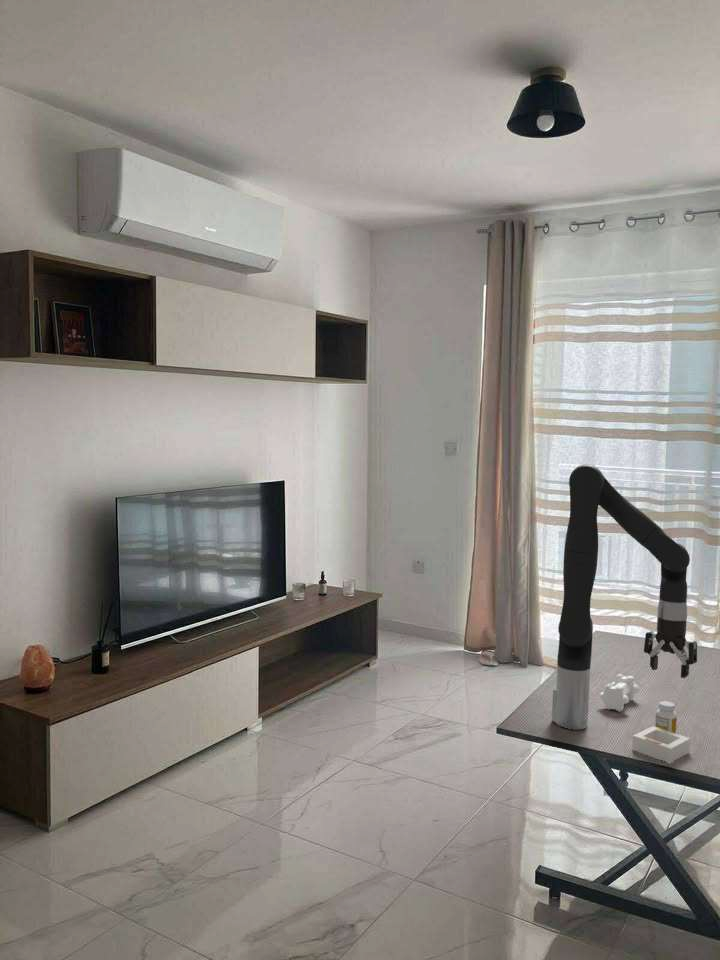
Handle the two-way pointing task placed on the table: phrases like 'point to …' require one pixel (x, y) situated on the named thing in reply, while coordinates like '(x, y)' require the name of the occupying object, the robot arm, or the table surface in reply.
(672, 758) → the socket block
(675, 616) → the robot arm
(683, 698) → the table surface
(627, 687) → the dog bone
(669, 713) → the supplement bottle
